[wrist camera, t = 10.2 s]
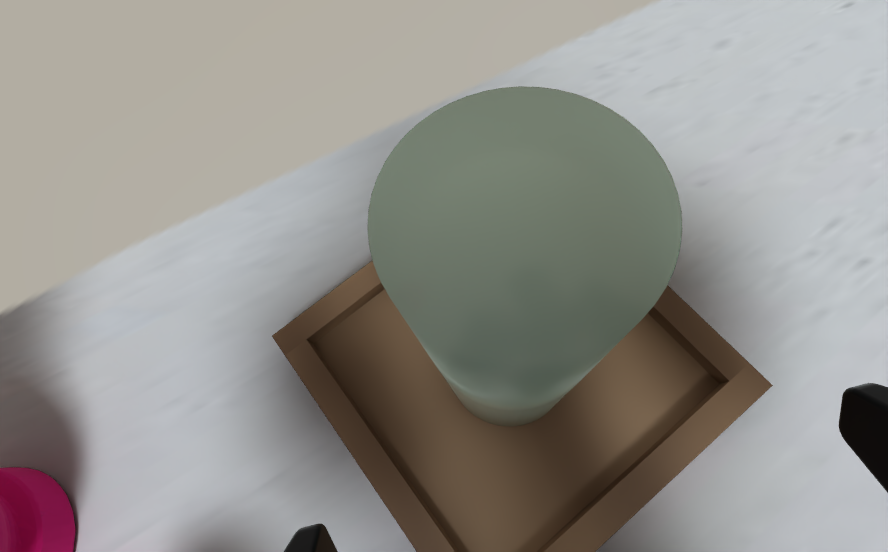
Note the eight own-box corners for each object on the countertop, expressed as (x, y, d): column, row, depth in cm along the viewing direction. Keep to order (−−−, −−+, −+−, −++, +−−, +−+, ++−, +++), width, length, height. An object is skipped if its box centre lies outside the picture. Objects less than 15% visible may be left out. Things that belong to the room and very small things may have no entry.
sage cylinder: (551, 443, 18) (648, 412, 6) (431, 404, 19) (321, 310, 7) (580, 325, 19) (705, 116, 8) (468, 293, 20) (424, 64, 9)
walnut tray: (486, 632, 17) (485, 654, 15) (291, 346, 21) (271, 336, 19) (744, 392, 19) (772, 385, 17) (519, 172, 23) (522, 147, 21)
